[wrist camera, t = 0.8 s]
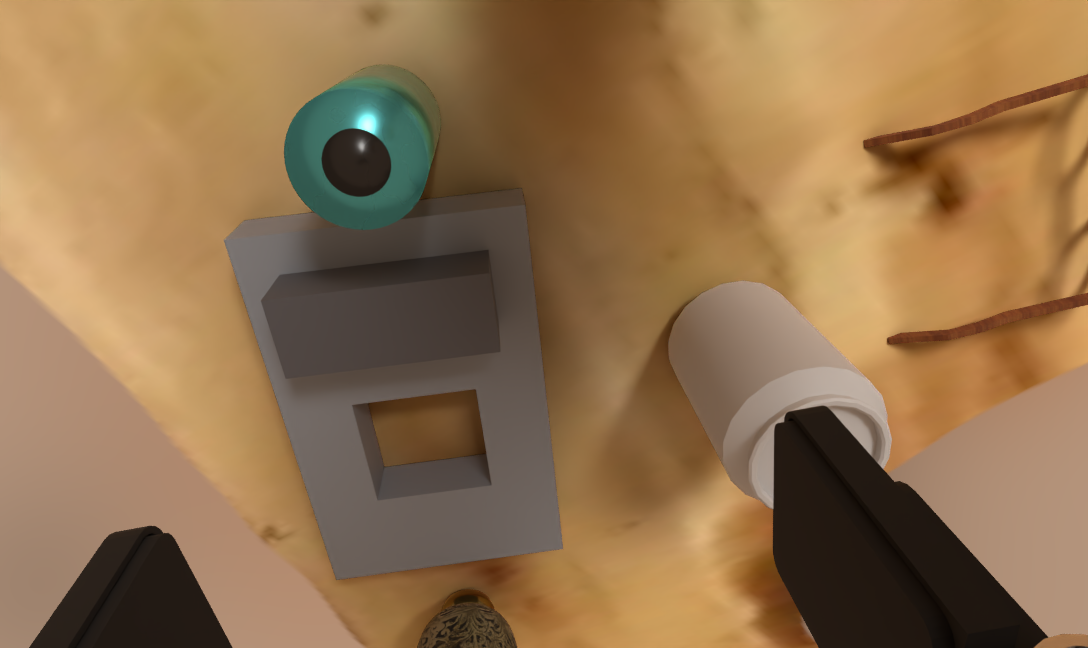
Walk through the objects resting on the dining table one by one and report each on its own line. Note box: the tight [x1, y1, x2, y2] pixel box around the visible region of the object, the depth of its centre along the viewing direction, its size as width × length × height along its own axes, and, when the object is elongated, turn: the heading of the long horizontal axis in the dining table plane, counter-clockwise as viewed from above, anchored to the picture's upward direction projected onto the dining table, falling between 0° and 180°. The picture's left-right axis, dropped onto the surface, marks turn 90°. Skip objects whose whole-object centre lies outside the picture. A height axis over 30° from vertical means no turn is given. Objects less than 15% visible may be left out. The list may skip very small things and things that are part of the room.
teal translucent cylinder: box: [284, 65, 441, 230], centre depth 27 cm, size 5×5×9 cm
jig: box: [224, 188, 563, 580], centre depth 35 cm, size 22×14×6 cm, turn 5°
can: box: [668, 281, 892, 509], centre depth 33 cm, size 8×8×12 cm
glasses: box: [864, 74, 1088, 344], centre depth 34 cm, size 13×13×5 cm
